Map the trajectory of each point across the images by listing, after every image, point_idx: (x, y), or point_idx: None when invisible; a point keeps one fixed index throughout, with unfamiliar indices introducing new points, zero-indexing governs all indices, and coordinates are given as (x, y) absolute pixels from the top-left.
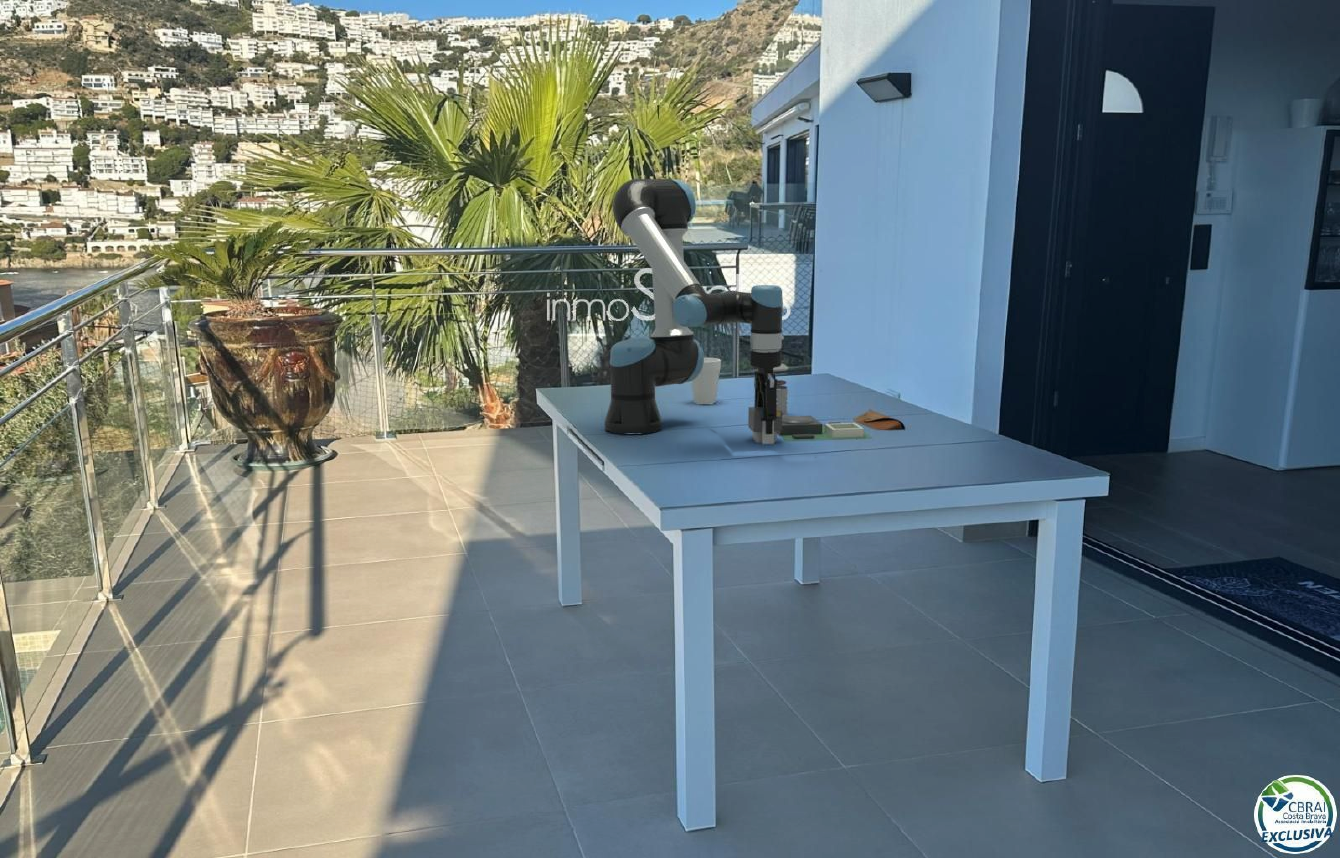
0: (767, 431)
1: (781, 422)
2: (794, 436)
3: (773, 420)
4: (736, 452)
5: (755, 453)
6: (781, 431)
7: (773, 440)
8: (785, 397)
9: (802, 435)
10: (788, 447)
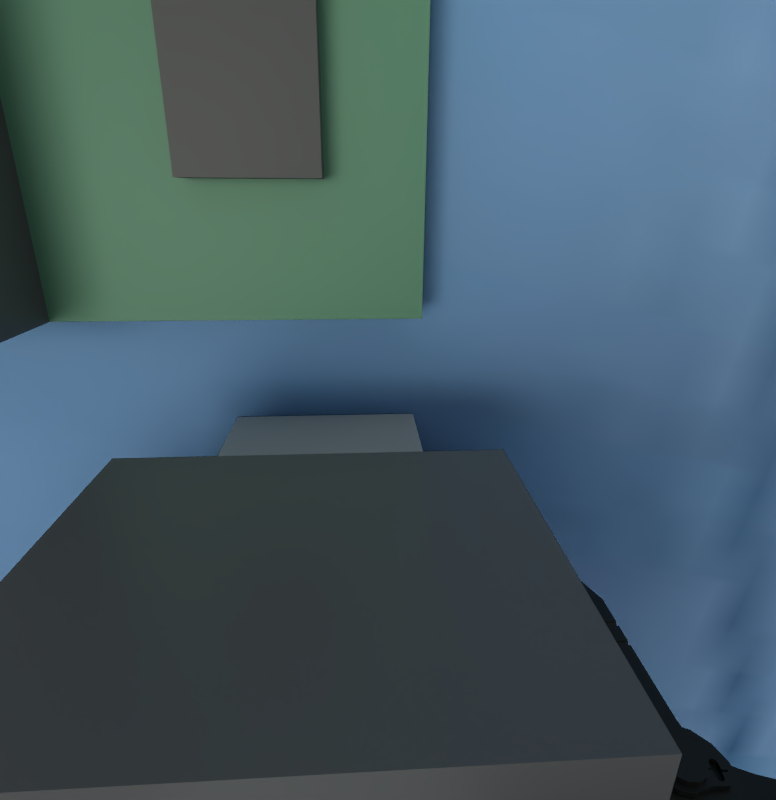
0: None
1: (550, 538)
2: (307, 178)
3: (677, 739)
4: None
5: (628, 627)
6: (13, 308)
7: None
8: None
9: (251, 17)
10: (476, 298)
